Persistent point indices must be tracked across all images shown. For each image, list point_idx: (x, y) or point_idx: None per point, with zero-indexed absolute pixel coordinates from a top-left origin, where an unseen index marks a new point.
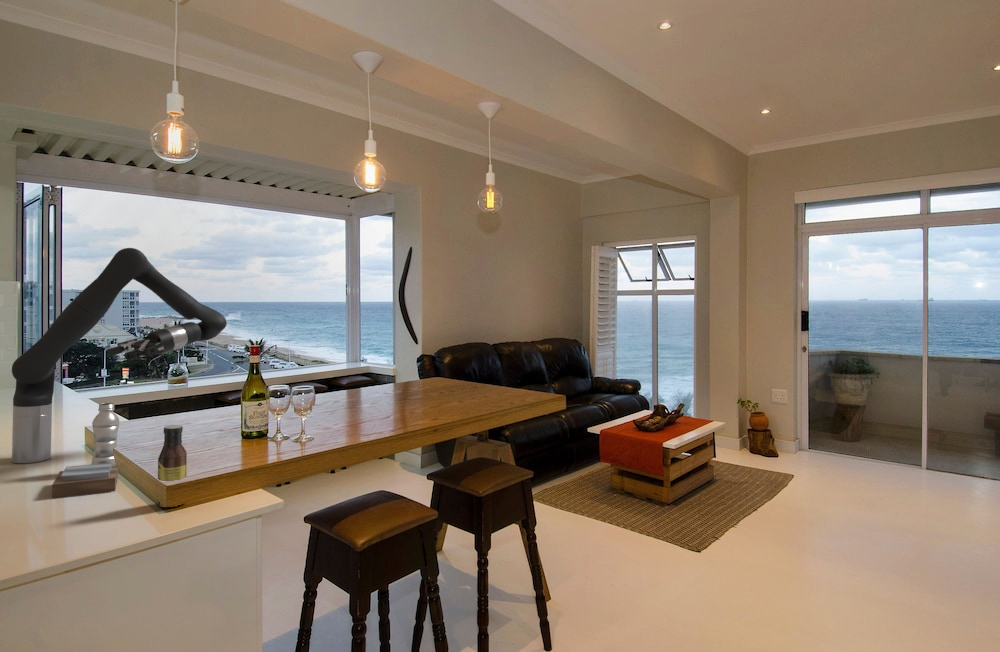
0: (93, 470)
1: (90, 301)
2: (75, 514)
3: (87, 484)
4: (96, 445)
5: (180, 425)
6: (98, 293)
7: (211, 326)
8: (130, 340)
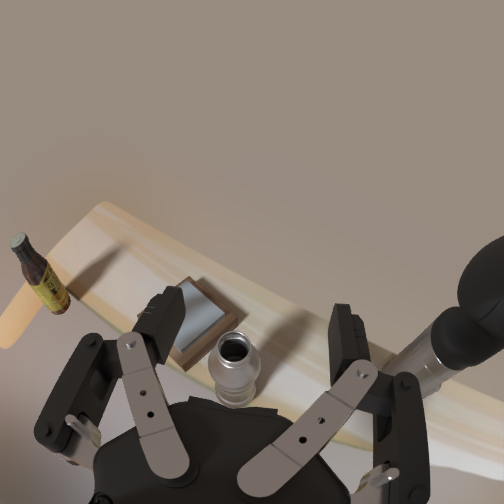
0: None
1: None
2: (130, 263)
3: None
4: (236, 361)
5: (11, 245)
6: None
7: None
8: (414, 458)
